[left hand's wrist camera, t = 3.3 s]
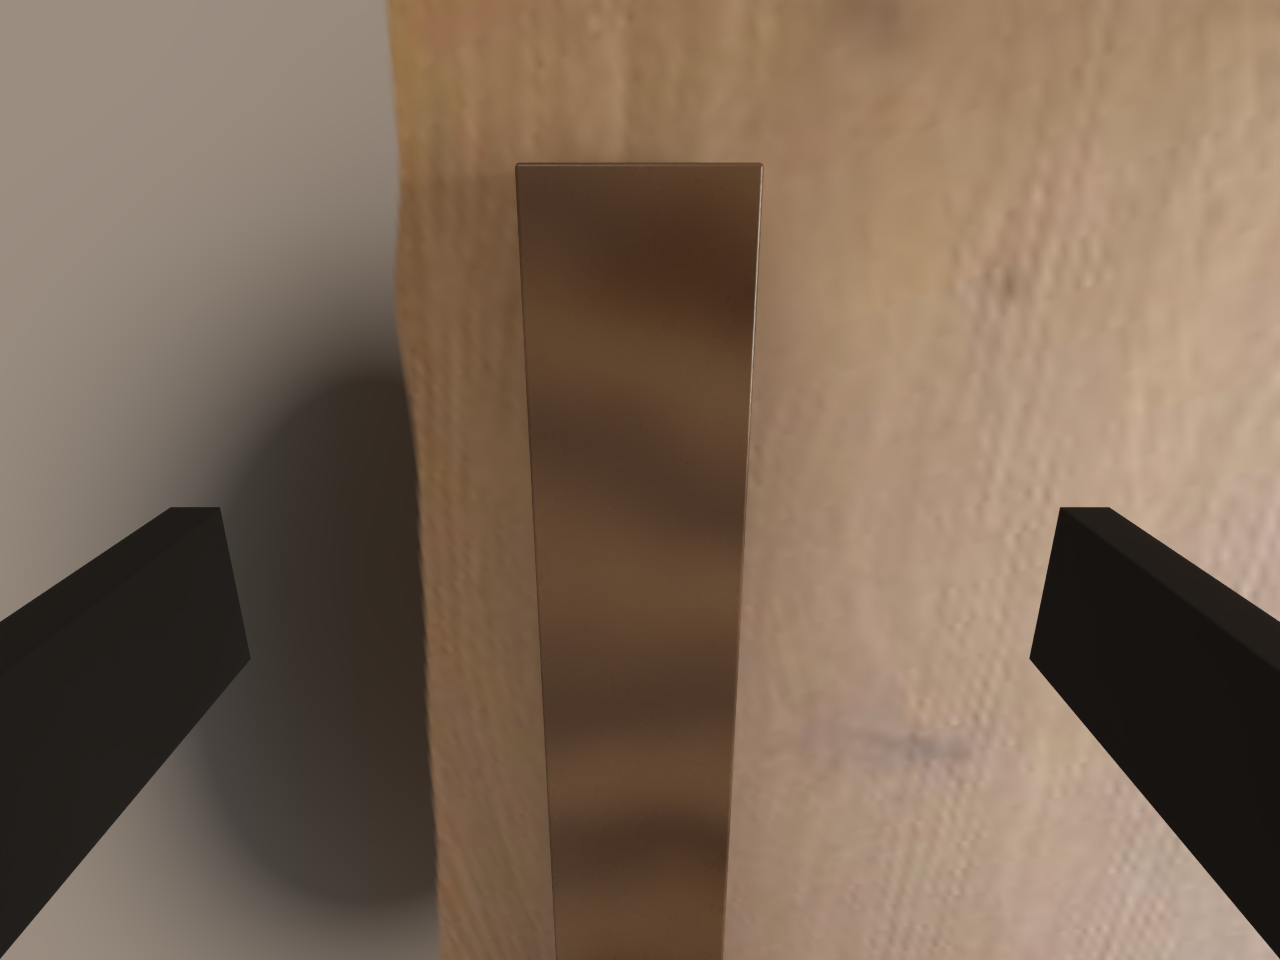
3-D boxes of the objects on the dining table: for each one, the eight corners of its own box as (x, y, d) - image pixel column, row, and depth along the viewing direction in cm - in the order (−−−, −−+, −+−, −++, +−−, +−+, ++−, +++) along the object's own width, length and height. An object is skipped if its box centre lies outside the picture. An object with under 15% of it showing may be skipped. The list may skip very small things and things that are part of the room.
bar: (549, 170, 25) (514, 162, 18) (729, 170, 25) (764, 162, 18) (588, 1210, 44) (578, 1402, 37) (691, 1210, 44) (700, 1401, 37)
